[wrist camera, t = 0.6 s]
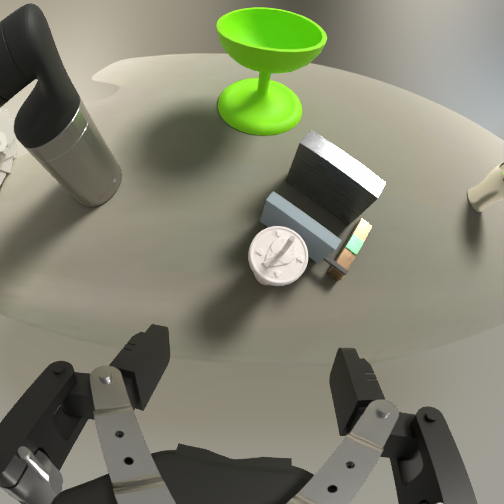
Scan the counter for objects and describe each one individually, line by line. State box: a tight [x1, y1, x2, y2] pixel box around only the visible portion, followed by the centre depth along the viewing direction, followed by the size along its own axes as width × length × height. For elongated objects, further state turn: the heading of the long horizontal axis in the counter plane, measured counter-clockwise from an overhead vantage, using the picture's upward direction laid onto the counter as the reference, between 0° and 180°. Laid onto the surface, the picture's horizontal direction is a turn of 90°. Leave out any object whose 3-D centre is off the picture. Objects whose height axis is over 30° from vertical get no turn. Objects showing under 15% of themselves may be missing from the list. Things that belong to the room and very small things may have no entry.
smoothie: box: [248, 226, 308, 286], centre depth 31 cm, size 6×6×14 cm
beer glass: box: [467, 162, 504, 212], centre depth 38 cm, size 7×7×15 cm
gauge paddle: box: [260, 191, 348, 275], centre depth 35 cm, size 14×2×7 cm, turn 54°
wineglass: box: [216, 8, 327, 136], centre depth 37 cm, size 16×16×18 cm
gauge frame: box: [286, 130, 386, 281], centre depth 36 cm, size 15×12×10 cm
